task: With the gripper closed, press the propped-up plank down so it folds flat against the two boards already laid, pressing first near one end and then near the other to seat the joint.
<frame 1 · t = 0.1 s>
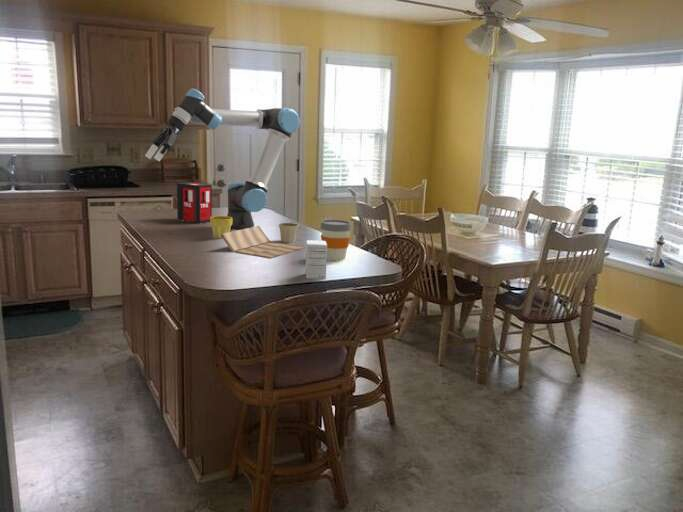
hand: (151, 158, 261), 36 cm above the countertop, tool tilted 35°, fingers open, 13 cm apart
cleaning product box: (194, 221, 319), on the countertop
reusable coffee cup: (334, 258, 246), on the countertop
flower pot: (288, 243, 273), on the countertop
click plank: (246, 238, 257), point 4 cm above the countertop, hinge at 45.0°
plant pot: (221, 238, 277), on the countertop
supplement box: (315, 276, 215), on the countertop
laid floor: (271, 251, 252), on the countertop
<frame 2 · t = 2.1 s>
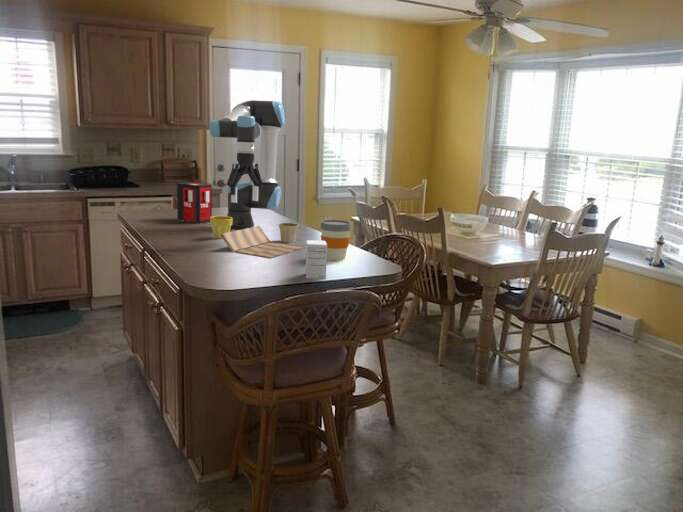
hand: (244, 201, 259), 19 cm above the countertop, tool pointing down, fingers open, 13 cm apart
nothing on the countertop moved.
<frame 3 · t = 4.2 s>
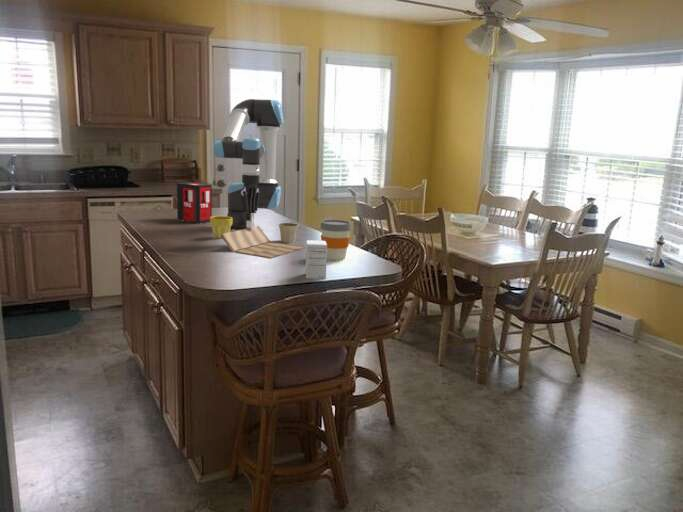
hand: (250, 227, 263), 8 cm above the countertop, tool pointing down, fingers closed
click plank: (246, 238, 257), point 4 cm above the countertop, hinge at 44.2°, touching gripper
everything else where it was.
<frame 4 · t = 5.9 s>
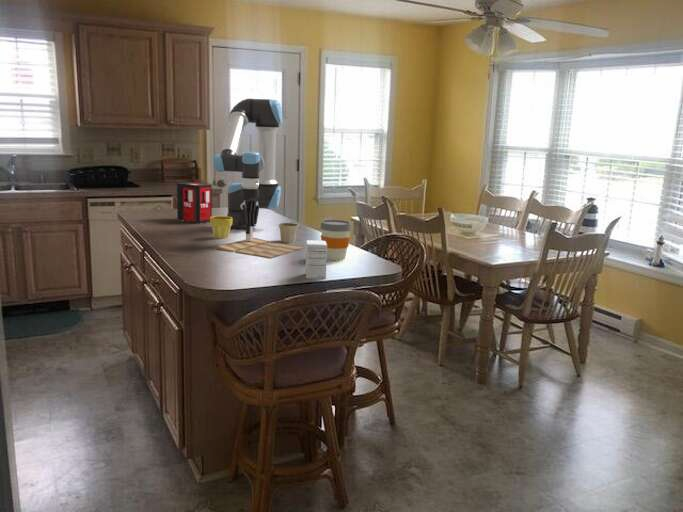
hand: (249, 240, 264), 2 cm above the countertop, tool pointing down, fingers closed
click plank: (243, 245, 258), point 1 cm above the countertop, hinge at 3.6°, touching gripper
everything else where it was.
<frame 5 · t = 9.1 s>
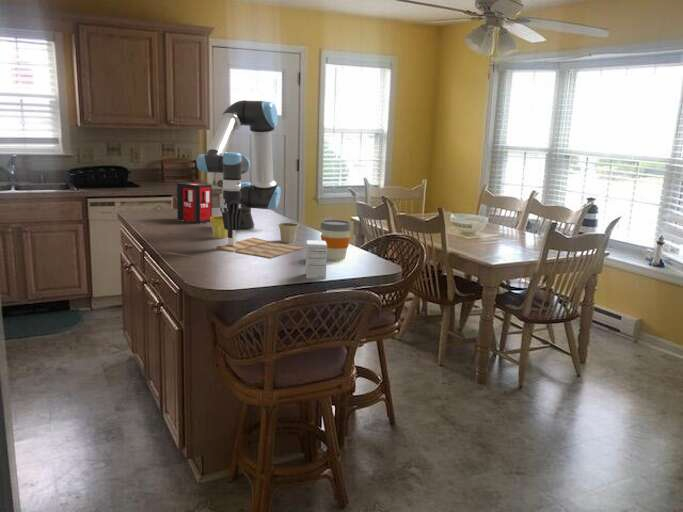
hand: (231, 245, 252), 2 cm above the countertop, tool pointing down, fingers closed
nothing on the countertop moved.
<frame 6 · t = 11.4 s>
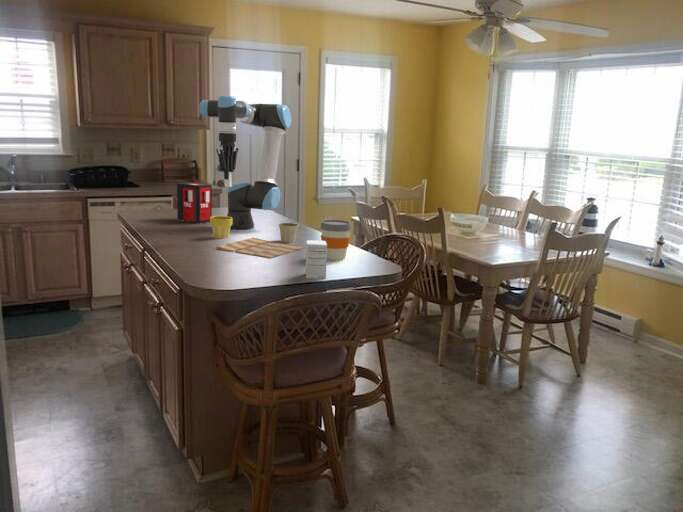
hand: (228, 186, 263), 25 cm above the countertop, tool pointing down, fingers closed
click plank: (243, 245, 258), point 1 cm above the countertop, hinge at 3.5°
everything else where it was.
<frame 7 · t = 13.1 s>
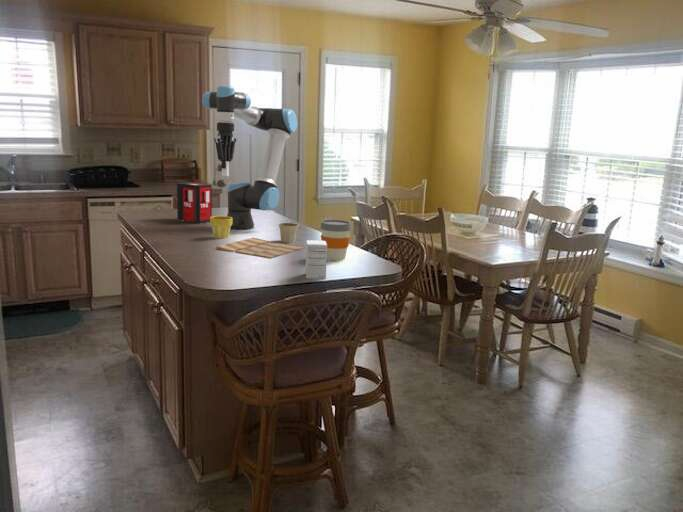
hand: (225, 175, 267), 29 cm above the countertop, tool pointing down, fingers closed
nothing on the countertop moved.
at the end: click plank at +4° (first picture: +45°) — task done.
